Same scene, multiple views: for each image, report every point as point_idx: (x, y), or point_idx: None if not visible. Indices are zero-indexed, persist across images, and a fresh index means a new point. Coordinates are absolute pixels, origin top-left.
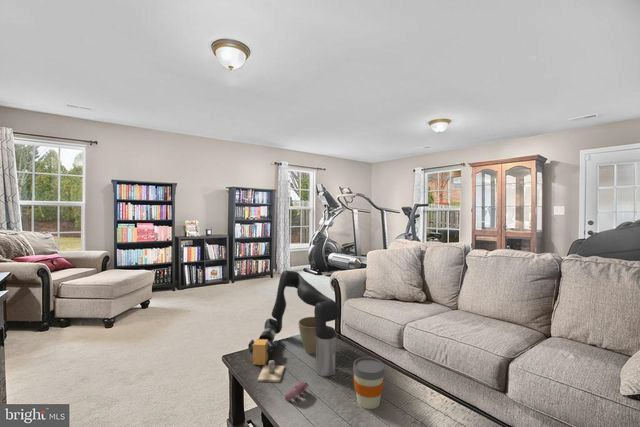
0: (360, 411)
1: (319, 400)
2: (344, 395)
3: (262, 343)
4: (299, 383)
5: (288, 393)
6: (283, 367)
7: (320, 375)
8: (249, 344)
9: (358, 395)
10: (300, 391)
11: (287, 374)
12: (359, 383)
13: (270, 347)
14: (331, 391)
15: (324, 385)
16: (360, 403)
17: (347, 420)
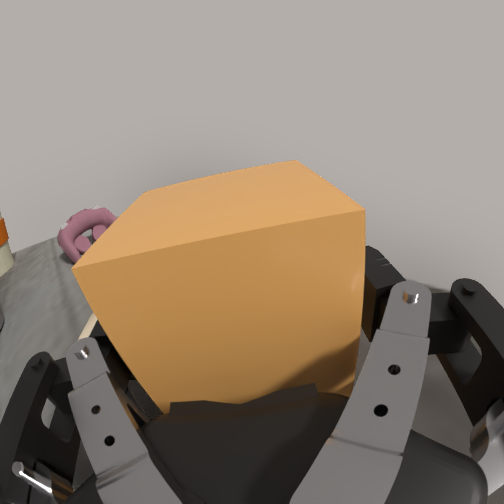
0: (23, 255)
1: (59, 253)
2: (13, 273)
3: (176, 191)
4: (78, 212)
5: (113, 215)
6: (86, 327)
7: (2, 315)
8: (466, 287)
9: (7, 245)
10: (83, 237)
11: (86, 309)
12: (1, 217)
13: (99, 336)
14: (23, 276)
15: (21, 288)
16: (12, 258)
17: (49, 239)
